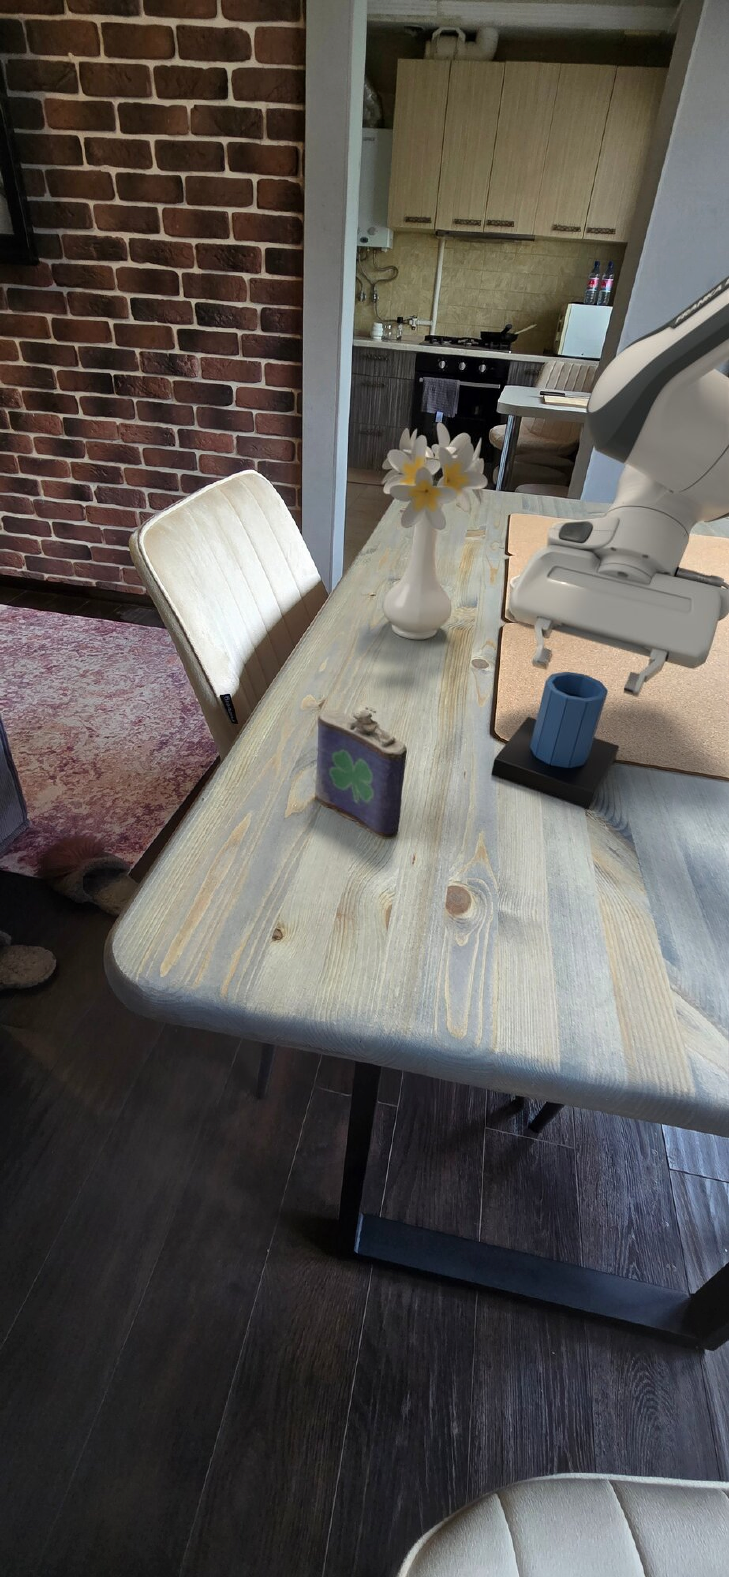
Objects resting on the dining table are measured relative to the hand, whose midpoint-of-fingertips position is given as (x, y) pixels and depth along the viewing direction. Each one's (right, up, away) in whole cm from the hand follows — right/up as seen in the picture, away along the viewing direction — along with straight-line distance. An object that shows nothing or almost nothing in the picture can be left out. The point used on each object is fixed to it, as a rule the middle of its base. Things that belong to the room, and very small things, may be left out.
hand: (583, 679), depth 74 cm
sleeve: (-2, -7, 0) cm, 8 cm away
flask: (-23, -13, -7) cm, 27 cm away
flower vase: (-15, +10, +26) cm, 32 cm away
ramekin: (+3, +15, +34) cm, 38 cm away
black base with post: (-3, -9, +1) cm, 9 cm away
